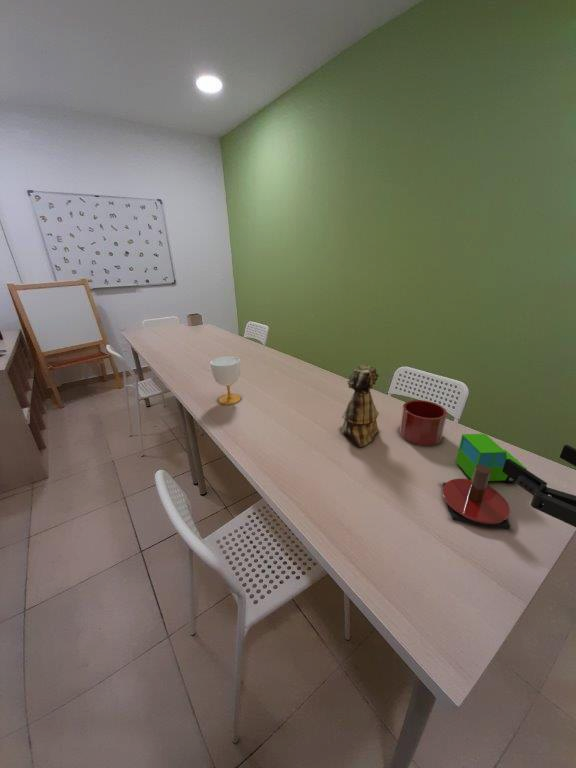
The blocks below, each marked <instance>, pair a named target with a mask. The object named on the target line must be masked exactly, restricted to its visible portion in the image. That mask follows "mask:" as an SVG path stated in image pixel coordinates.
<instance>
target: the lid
mask: <svg viewBox="0 0 576 768" xmlns="http://www.w3.org/2000/svg"><path fill="white" fill-rule="evenodd" d="M490 475H491V469H490V468H489V467H487V466H484V465H476V467H475V471H474V474H473V478H472V480H471V479H470V478H469V479H468V478H453V479H450V480H448V481H446V482H445V483H446V484H445V485H444V487H443V486H442V496H443V499H444V501H445V502H446V503H447V506H448V507H449V506H450V507H451V508H452V509H454V510H455V511H456V512H458V513H459V514H461V515H462V516H464V517H466V518H468V519H471V520H473V521H476V522H480V523H486V524H497V523H501V522H503V521H505V520H506V519H507V520H508V518H509V516H510V512H511V509H510V506H509V505H510V504H509V502H508V501H507V500H506V499H505V497H504V496H502V494H501V493H499V492H498V491H497V490H496V489H494V488H492V487H490V486H489V485H488V484H489V482H490V481H489V478H490Z"/></svg>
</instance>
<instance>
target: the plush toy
mask: <svg viewBox="0 0 576 768" xmlns="http://www.w3.org/2000/svg"><path fill="white" fill-rule="evenodd" d="M378 377H380V375H379V374H378V373H377V369H376V367H373V366H370V365H368V364H361V365H360V364H359V365H357V366H356V367H355V368H354V369H353V370H352V371H351V373H350V374H349V375H348V376H347V378H348V380H347V381H346V383H347V385H348V387H347V388H349V389H352V390H354V392H353V394H352V395H351V397H350V400H349V402H348V404H347V406H346V408H345V410H344V412H343V414H342V416H341V418H342V419H343V423H342V427H341V428H340V429H341V433H342V434H343V435H345V436H346V437H348V438H349V439H350V440H351V441H352V442H353V443H354V445H355V446H356V447H360V448H362V447H366V445H368V444H369V443H371V442H372V441H373V440H374V439H373V438H374V436H375V435H376V434H377V433H378V431H379V427H378V422H377V419H378V417H379V415H380V412H378V410H377V408H376V405H375V402H374V398H373V396H372V393H371V390H372V389H373V386H374V385H376V382H377V381H378Z"/></svg>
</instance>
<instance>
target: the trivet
mask: <svg viewBox="0 0 576 768" xmlns="http://www.w3.org/2000/svg"><path fill="white" fill-rule="evenodd" d="M446 483H447V482H443V483H442V488H443V487H444V485H445V484H446ZM448 508H449V512H450V515H451V519H452V520H453V521H460V522H465V523H469V524H470V523H472V524H477V525H483V526H489V527H494V528H500V529H505V530H510V527H511V525H510V523H509V520H508V518H507V519H506V520H505V521H503V522H501V523H497V524H486V523H480V522H476V521H473V520H471V519H468V518H466V517H464V516H462V515H461V514H459V513H458V512H456V511H455V510H454V509H452V508H451V507H450V506H449V505H448Z"/></svg>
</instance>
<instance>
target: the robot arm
mask: <svg viewBox="0 0 576 768" xmlns="http://www.w3.org/2000/svg"><path fill="white" fill-rule="evenodd" d="M559 458H560V459H562V460H563V461H565V462H567V463H568V464H570V465H572V466H574V467H576V448H574V447H572V446H571V445H569V444H565V445H563V447H562V450H561V452H560V454H559ZM502 472H503V473H505V474H506V475H508V476H509V477H510V478H512V479H513V480H515V482H516V484H517V485H518V486H519V487H521V488H522V489H523V490H524V491H526V492H528V493H529V494H530V495H531V496H533V497H532V500H531V502H530V506H531V507H532V508H533V509H535V510H537V511H540V512H541V513H544V514H546V515H548V516H550V517H552V518H555V519H556V520H558V521H561V522H562V523H565V524H568V525H570V526H572V527H574V528H576V495H574V494H571V493H568V492H565V491H561V490H558V489H555V488H551V487H547V485H548V482H546V481H545V480H543V479H542V478H541V477H539V476H537V475H536V474H534V473H532V472H531V471H530V470H528V469H525V468H523V467H522V466H520V465H519V464H517V463H515V462H514V461H512V460H511V459H506V461H505V464H504V467H503V470H502Z"/></svg>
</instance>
